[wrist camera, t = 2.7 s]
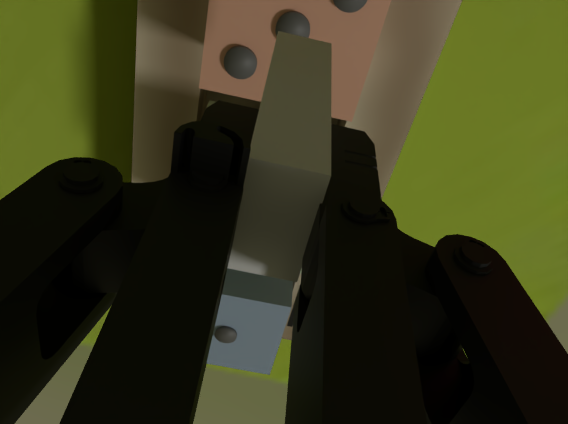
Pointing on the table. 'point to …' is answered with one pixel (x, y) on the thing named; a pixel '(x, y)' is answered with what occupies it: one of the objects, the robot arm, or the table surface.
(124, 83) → the table surface
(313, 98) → the robot arm
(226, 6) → the pink toy block
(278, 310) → the grey block
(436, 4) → the wooden block tray
